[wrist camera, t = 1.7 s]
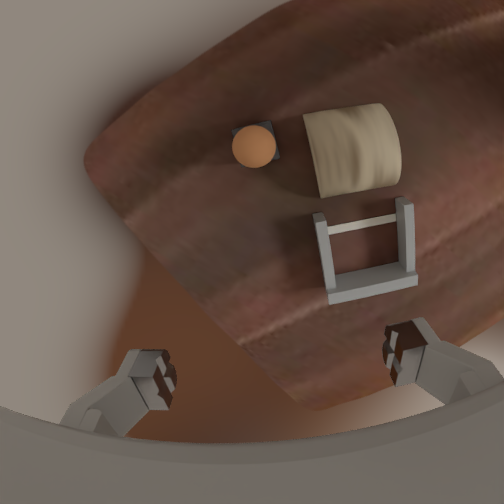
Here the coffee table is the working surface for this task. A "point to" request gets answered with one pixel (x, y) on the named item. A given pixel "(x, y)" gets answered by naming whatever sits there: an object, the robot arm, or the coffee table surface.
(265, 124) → the cube with raised frame
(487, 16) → the coffee table surface
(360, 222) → the line
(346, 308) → the coffee table surface
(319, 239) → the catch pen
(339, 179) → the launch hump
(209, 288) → the coffee table surface
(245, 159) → the ball
